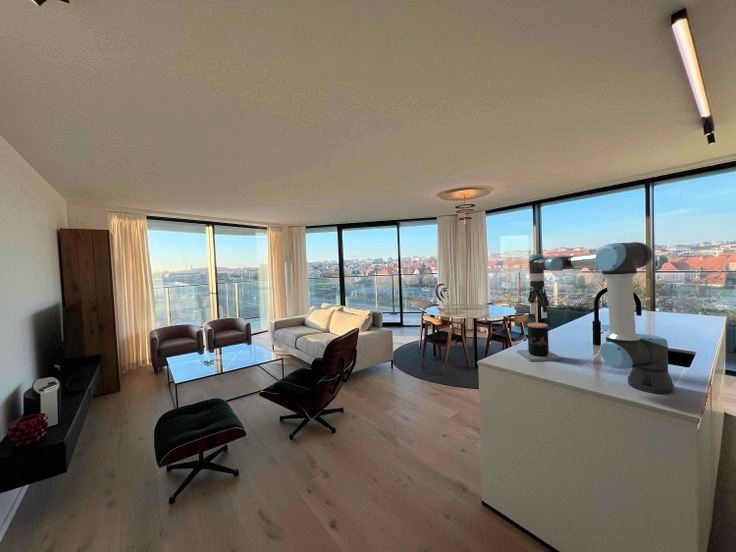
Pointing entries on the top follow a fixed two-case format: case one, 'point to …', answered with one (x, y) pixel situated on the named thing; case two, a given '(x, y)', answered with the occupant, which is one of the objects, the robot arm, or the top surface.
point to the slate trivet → (532, 358)
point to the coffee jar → (538, 339)
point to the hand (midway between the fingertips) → (538, 315)
